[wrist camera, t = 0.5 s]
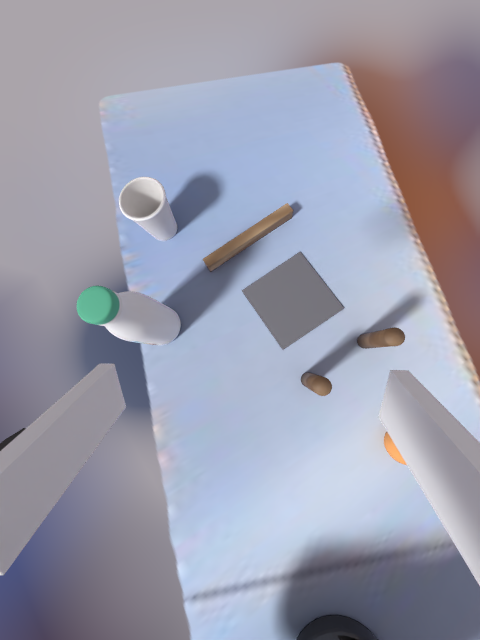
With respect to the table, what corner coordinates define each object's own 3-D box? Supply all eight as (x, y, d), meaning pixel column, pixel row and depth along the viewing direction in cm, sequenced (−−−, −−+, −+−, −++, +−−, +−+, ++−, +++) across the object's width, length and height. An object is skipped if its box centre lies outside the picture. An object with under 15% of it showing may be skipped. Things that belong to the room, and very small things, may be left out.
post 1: (318, 381, 43) (335, 389, 33) (306, 389, 43) (320, 399, 33) (309, 369, 43) (324, 373, 34) (298, 377, 43) (309, 383, 34)
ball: (418, 444, 40) (443, 458, 35) (391, 463, 40) (412, 479, 34) (396, 415, 41) (417, 425, 36) (370, 433, 41) (387, 445, 35)
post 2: (375, 343, 43) (408, 339, 33) (363, 351, 43) (393, 349, 33) (365, 331, 44) (396, 324, 34) (354, 339, 44) (381, 334, 34)
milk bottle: (173, 301, 48) (113, 261, 28) (187, 335, 46) (133, 320, 27) (139, 316, 48) (54, 288, 28) (152, 351, 47) (72, 347, 27)
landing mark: (343, 308, 45) (344, 308, 44) (282, 349, 44) (282, 349, 44) (299, 252, 47) (300, 251, 47) (241, 290, 47) (241, 290, 47)
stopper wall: (291, 217, 48) (293, 210, 46) (210, 271, 48) (207, 267, 46) (286, 210, 49) (287, 203, 46) (205, 264, 48) (202, 259, 46)
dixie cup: (190, 221, 50) (174, 188, 40) (169, 253, 49) (147, 227, 40) (159, 204, 52) (135, 168, 42) (138, 235, 51) (109, 206, 41)
